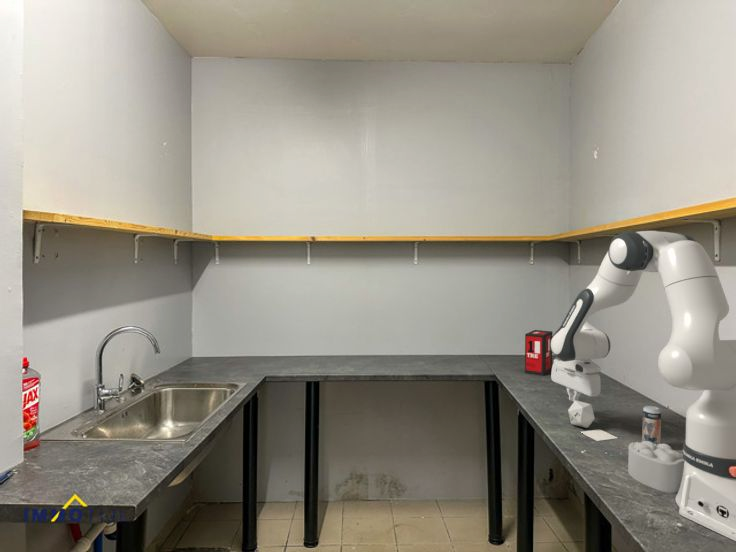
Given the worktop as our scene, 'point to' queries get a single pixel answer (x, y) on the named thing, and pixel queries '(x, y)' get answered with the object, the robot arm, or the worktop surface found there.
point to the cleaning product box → (538, 352)
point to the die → (581, 414)
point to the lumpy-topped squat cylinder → (656, 465)
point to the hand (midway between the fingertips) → (573, 401)
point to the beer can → (651, 424)
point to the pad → (599, 435)
